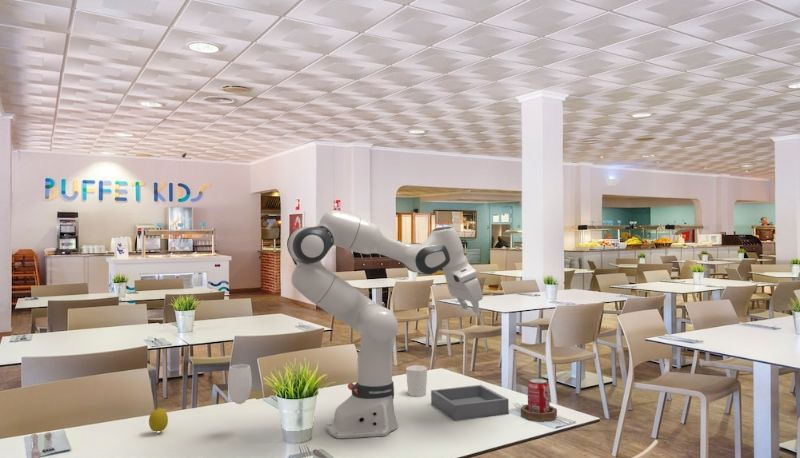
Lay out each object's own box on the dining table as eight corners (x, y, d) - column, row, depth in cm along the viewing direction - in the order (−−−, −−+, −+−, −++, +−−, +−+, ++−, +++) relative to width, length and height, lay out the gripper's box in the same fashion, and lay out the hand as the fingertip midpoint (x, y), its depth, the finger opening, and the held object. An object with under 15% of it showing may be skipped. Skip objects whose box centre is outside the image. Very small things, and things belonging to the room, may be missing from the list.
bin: (454, 420, 198) (454, 405, 198) (431, 404, 216) (431, 390, 216) (508, 413, 204) (508, 399, 204) (481, 398, 223) (481, 384, 223)
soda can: (548, 413, 205) (547, 377, 204) (551, 419, 197) (550, 383, 197) (526, 412, 205) (526, 377, 205) (529, 419, 198) (528, 382, 198)
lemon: (147, 437, 185) (147, 411, 185) (150, 431, 190) (150, 406, 190) (167, 435, 186) (166, 409, 186) (169, 429, 192) (168, 404, 192)
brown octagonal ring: (533, 423, 194) (533, 415, 194) (515, 413, 205) (515, 406, 205) (562, 419, 198) (562, 411, 198) (543, 409, 208) (543, 402, 208)
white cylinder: (403, 392, 232) (403, 366, 232) (423, 390, 234) (423, 365, 234) (410, 398, 225) (410, 371, 225) (430, 396, 227) (430, 369, 227)
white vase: (227, 430, 190) (226, 365, 190) (250, 427, 193) (250, 363, 193) (229, 438, 183) (228, 370, 183) (253, 435, 186) (252, 367, 186)
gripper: (438, 273, 210) (451, 309, 212) (461, 278, 190) (475, 318, 192) (453, 266, 212) (466, 302, 213) (478, 271, 192) (492, 311, 194)
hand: (471, 310), depth 202 cm, fingers open, 8 cm apart
